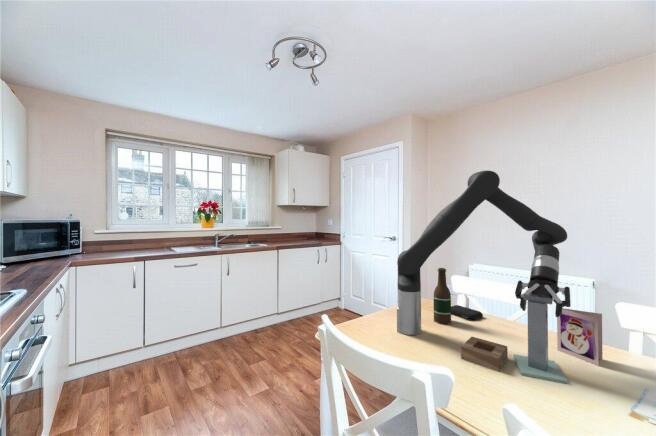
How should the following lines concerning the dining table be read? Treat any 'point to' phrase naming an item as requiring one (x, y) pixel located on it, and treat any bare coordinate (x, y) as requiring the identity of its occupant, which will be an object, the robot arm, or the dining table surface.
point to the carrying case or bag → (466, 312)
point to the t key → (537, 331)
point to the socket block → (484, 353)
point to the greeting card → (580, 335)
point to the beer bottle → (442, 299)
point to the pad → (551, 373)
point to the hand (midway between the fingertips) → (539, 312)
